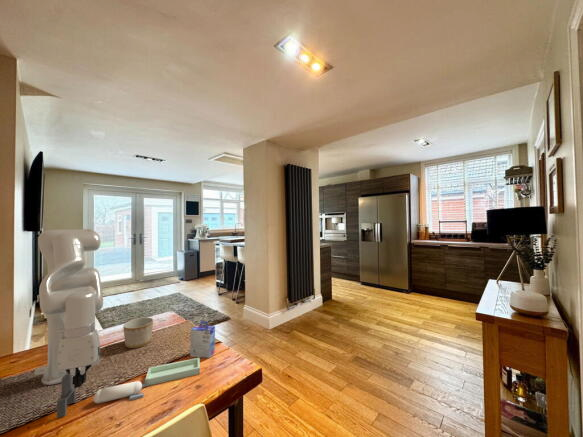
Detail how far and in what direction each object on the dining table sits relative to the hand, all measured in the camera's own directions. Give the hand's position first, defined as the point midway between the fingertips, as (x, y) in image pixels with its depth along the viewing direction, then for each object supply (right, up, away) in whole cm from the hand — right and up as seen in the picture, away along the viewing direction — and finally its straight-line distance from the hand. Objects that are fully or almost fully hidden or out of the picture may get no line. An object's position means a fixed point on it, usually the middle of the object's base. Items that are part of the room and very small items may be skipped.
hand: (79, 385), depth 77 cm
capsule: (+10, -7, +4) cm, 13 cm away
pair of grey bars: (+16, -7, +6) cm, 18 cm away
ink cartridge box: (+30, -8, +30) cm, 43 cm away
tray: (+23, -7, +16) cm, 29 cm away
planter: (-7, -8, +40) cm, 42 cm away
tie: (-3, -7, -1) cm, 8 cm away
